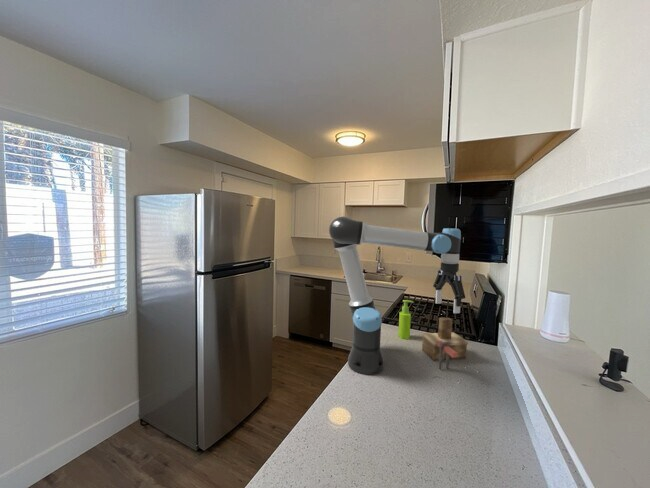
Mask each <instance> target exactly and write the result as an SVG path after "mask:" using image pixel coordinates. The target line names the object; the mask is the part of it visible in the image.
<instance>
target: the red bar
mask: <svg viewBox="0 0 650 488" xmlns="http://www.w3.org/2000/svg"><path fill="white" fill-rule="evenodd" d="M440 343H442V341H437V345H438V346H439V347H440ZM443 350H444V351H445V352H446V353H447V354H449V355H450V356H451V357H452V358H455V357H457V354H458V353H457V352H456V351H454V350H453V349H452V348H450V347H449V346H448V345H443Z"/></svg>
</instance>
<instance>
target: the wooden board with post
mask: <svg viewBox="0 0 650 488" xmlns="http://www.w3.org/2000/svg"><path fill="white" fill-rule="evenodd" d="M437 330H438V332H429V333H422V334H421V336H422V338H423V337H424V338H425V339H426V340H427V341H429V342H430V343H431V344H432V345H433V346H438V345H437V341H442V342H449V343H450V345H463V344H467V345H469V341H468V340H466V339H465V338H463V337H462V336H461V335H459V334H458V333H455V332H454V331H453V319H452V318H450V317H439V319H438V329H437Z"/></svg>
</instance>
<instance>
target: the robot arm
mask: <svg viewBox="0 0 650 488" xmlns="http://www.w3.org/2000/svg"><path fill="white" fill-rule="evenodd" d="M328 233H329V236H330V238H331V239H332V243H333V248H334V250H336V251H338V254H339V257H340V261H341V266H342V269H343V273H344V277H345V281H346V285H347V290H348V294H349V297H350V301H349V302H348V306H349V310H350V313H351V318H352V347H351V349H350V351H349V355H348V357H347V366H348V367H349V368H350V369H351V370H352V371H354V372H356V373H359V374H363V375H376V374H379V373H381V372H382V371H383V370H384V364H385V363H384V357H383V354H382V352H381V335H382V333H381V332H382V331H381V330H382V324H383V323H382V322H383V321H382V319H383V318H382V314H381V313H380V311H379V310H377V309H376V305H375V301H374V299H373V296H370V295H369V292H368V287H367V284H366V283H367V282H366V280H365V279H366V278H365V276H364V272H363V268H362V267H363V266H362V263H361V259H360V255H359V251H358V248H357V247H358V245H362V244H371V245H378V246H387V247H394V248H401V249H409V250H417V251H423V252H431V253H435V254H441V255H440V261H441V262H440V269H439V270H437V275H436V278H435V280H434V282H433V285H432V287H433V288H434V289H435V304H438V305H439V304H442V301H443V300H442V299H443V287H444V286H445V284H446V283H447V284H449V286H450V287H451V290H452V292H453V295H454V298H453V314H460V313H461V307H462V300H463V299H466V295H465V290H464V285H463V281H462V275H457V273H458V272H459V269H460V266H459V265H460V264H459V262H460V251H461V240H462V234H461V233H462V231H461V230H460V229H459V228H449V227H447V228H445V227H444V228H443V229H442V232H426V231H425V232H424V231H418V230H412V229H411V230H408V229H402V228H396V227H395V228H393V227H386V226H379V225H373V224H372V225H371V224H366V223H365V222H364V221H360V220H355V219H351V218H349V217H347V216H339V217H336V218H334V219H333V220H332V221H331V223H330V224H329V227H328Z"/></svg>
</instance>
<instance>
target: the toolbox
mask: <svg viewBox="0 0 650 488" xmlns="http://www.w3.org/2000/svg"><path fill="white" fill-rule="evenodd" d="M443 345H448V346H449V347H450V348H452V349H453V350H454V351H456V352H457V353H458V354H457V357H455V358H452V357H451V356H450V355H449V354H447V353H446V352H445V351H444V350H443ZM467 347H468V344H463V345H450V343H449V342H442V343H440V347H439V346H433V345H432V344H431V343H430V342H429V341H427V340H426V339H425V338H424V337H423V336H422V345H421V348H422V349H421V351H422V352H424V354H426V355H427V357H429V358H430V359H431V360H432V361H433V362H436V361H437V362H438V367H437V368H438V369H439V371H441V370H442V369H443V368H442V366H443V361H445V369H446V370H449V368H450V361H451V360H453V361H454V360H465V359H466V358H467Z"/></svg>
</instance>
